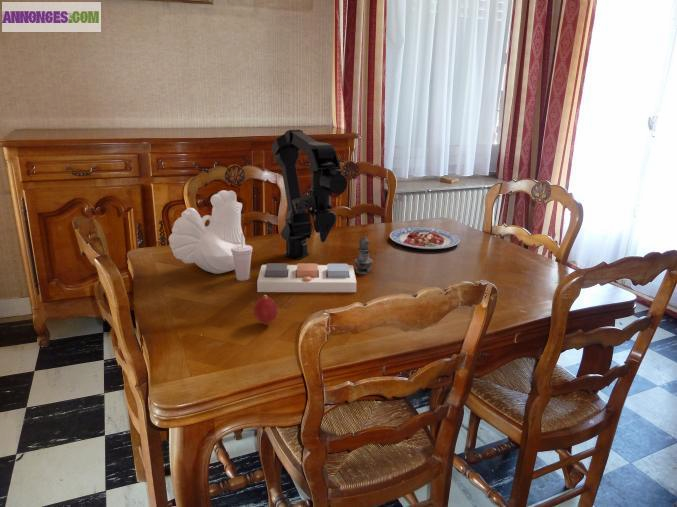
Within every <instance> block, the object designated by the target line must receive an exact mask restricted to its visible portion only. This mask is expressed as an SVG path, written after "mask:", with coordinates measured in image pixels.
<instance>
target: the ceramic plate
mask: <svg viewBox="0 0 677 507" xmlns="http://www.w3.org/2000/svg"><path fill="white" fill-rule="evenodd" d="M389 238H390V239H391V240H392V241H393V242H395V243H397V244H399V245H403V246H406V247H409V248H412V249H413V248H414V249H418V250H438V249H447V248H451V247H454V246H456V245H458V244H459V243H460V238H459V237H458V236H457V235H456V234H454V233H452V232H449V231H446V230H443V229H437V228H432V227H431V228H430V227H414V226H413V227H405V228H404V227H403V228H398V229H396V230H393V231H392V232H390V234H389Z"/></svg>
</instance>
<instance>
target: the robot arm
mask: <svg viewBox="0 0 677 507" xmlns="http://www.w3.org/2000/svg"><path fill="white" fill-rule="evenodd" d="M300 151H301V152H303V153H304V154H306V159H307V161H308V162H309V163H310V166H309V167H308V169H309V170H310V171H311V187H310V189H309V190H308V192H309V193H308V194H305V195H302V194H301V188H300V184H299V178H298V177H299V176H298V170H297V163H298V160H299V157H300V154H299V153H300ZM271 152H272V154H273V157H274V162H276V163H277V164H278V166H279V167H280V169H281V174H282V179H283V185H284V191H285V197H286V204H287V210H288V211H287V213H286V215H285V219H284V221H285V222H284V223H285V225H284V226H283V228H282V230H281V231H280V234H281V238H282V239H283V240H285V253H284V254H283V256H284V257H286V258H291V259H294V260H295V259H296V260H300V259H302V258H305V257H307V256H309V254H310V253H309V252H308V243H307V239H311V237H312V231H313V225H314V230H315V233H319V237H320V242H321V243H325V242H326V239H327V238H328V235H329V234H330V232H331V230H332V229H333V226H334V225H335V224H336V223H337V220H338V219H337V214H336V213H335V212H334V210H332V207H333V205H332V204H331V196H333V194H334V195H341V194H343V193H344V192H345V191H346V190H347V188H348V180H347V178H346V177H345V176H344V175H343V174H342V173H343V172H342V170H341V169H342V168H341V162H340V159H339V157H338V154H337V152H336V148H335V147H334V145H333V144H332V143H328V142H319V141H317V140H315V139H314V138H312V137H311V136H309V135H307V133H305V132H304V131H303V130H302V129H288V130H286V131H285V133H283V134H282V135H280V136H279V137H277V138H275V140H274V141H273V143H272V145H271ZM306 210H307V211H306ZM311 216H312V220H313V221H312V220H311ZM312 222H313V223H312Z"/></svg>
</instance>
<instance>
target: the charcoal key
mask: <svg viewBox="0 0 677 507" xmlns="http://www.w3.org/2000/svg"><path fill="white" fill-rule="evenodd" d="M266 265H267V266H266V270H265V274H266V277H276V278H287V265H288V262H287V263H284V262H283V263H282V262H279V263H278V262H277V263H273V262H270V263H269V262H267V263H266Z"/></svg>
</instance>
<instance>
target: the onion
mask: <svg viewBox="0 0 677 507" xmlns="http://www.w3.org/2000/svg"><path fill="white" fill-rule="evenodd" d="M278 311H279V309H278V304H276V302H275V301H274V300H273V299H272V298H271V297H269V296H268V295H267V294H264V295H263V296H262V297H261V298H260V299H259V300H258V301H256V303H255V305H254V307H253V315H254V317H255V318H256V320H257V321H258V322H259V323H261V324H263V325H264V326H268V325H269V324H271V323H272V322H273V321H274V320H275V319H276V318H277V317H278V313H279V312H278Z"/></svg>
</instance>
